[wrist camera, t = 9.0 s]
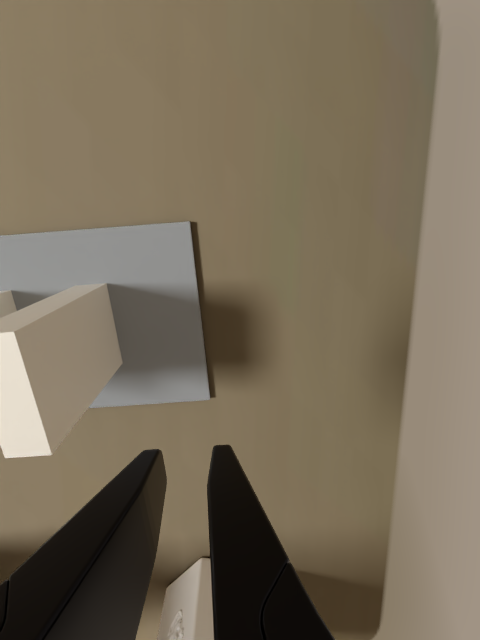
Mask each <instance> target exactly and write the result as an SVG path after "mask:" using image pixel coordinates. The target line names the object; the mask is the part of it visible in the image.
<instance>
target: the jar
mask: <svg viewBox="0 0 480 640" xmlns="http://www.w3.org/2000/svg"><path fill="white" fill-rule="evenodd" d="M157 640H214V631H213V608H212V586H211V564H210V558H200V559H199V560H198V561H197V562H195V563H194V564H193V565H192V566H191V567H190V568H189V569H187V570H186V571H185V572H184V573H183V574H182V575H181V576H179V577H178V578H177V579H176V580H175V581H174V582H173V583H171V584H170V585H169V586H168V587H167V589H166V593H165V598H164V604H163V609H162V614H161V619H160V625H159V630H158V635H157Z"/></svg>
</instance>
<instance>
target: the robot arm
mask: <svg viewBox="0 0 480 640" xmlns="http://www.w3.org/2000/svg"><path fill="white" fill-rule="evenodd" d="M166 484H167V478H166V471H165V466H164V460H163V455H162V452H161V450H159V449H153V450H144V451H143V452H141V453H140V454H139V455H138V456H137V457H136V458H135V459H134V460H133V461H132V462H131V463H130V464H128V465H127V466H126V467H125V468H124V469H123V470H122V471H121V472H120V473H119V474H118V475H117V476H116V477H115V478H114V479H112V480H111V481H110V482H109V483H108V484H107V485H106V486H105V487H104V488H103V489H102V490H101V491H100V492H99V493H98V494H96V495H95V496H94V497H93V498H92V499H91V500H90V501H89V502H88V503H87V504H86V505H85V506H84V507H83V508H82V509H80V510H79V511H78V512H77V513H76V514H75V515H74V516H73V517H72V518H71V519H70V520H69V521H68V522H67V523H66V524H64V525H63V526H62V527H61V528H60V529H59V530H58V531H57V532H56V533H55V534H54V535H53V536H52V537H51V538H50V539H48V540H47V541H46V542H45V543H44V544H43V545H42V546H41V547H40V548H39V549H38V550H37V551H36V552H35V553H34V554H32V555H31V556H30V557H29V558H28V559H27V560H26V561H25V562H24V563H23V564H22V565H21V566H20V567H19V568H18V569H16V570H15V571H14V572H13V573H12V574H11V575H10V577H9V580H5V581H3V582H2V583H1V584H0V640H135V638H136V634H137V630H138V626H139V622H140V618H141V614H142V610H143V606H144V602H145V598H146V594H147V590H148V586H149V582H150V578H151V574H152V570H153V566H154V562H155V557H156V552H157V546H158V540H159V533H160V526H161V519H162V513H163V506H164V499H165V492H166ZM207 498H208V520H209V542H210V564H211V586H212V608H213V631H214V640H335V639H334V637H333V636H332V634H331V633H330V631H329V629H328V628H327V626H326V625H325V623H324V621H323V620H322V618H321V617H320V615H319V613H318V612H317V610H316V608H315V606H314V604H313V603H312V601H311V599H310V597H309V595H308V594H307V592H306V590H305V588H304V586H303V585H302V583H301V581H300V579H299V577H298V575H297V573H296V571H295V569H294V567H293V565H292V564H291V563H289V558H288V556H287V554H286V552H285V550H284V548H283V546H282V545H281V543H280V541H279V539H278V537H277V535H276V533H275V531H274V529H273V527H272V525H271V523H270V521H269V519H268V517H267V515H266V513H265V511H264V510H263V508H262V506H261V504H260V502H259V500H258V498H257V496H256V494H255V492H254V490H253V488H252V486H251V484H250V482H249V480H248V478H247V476H246V475H245V473H244V471H243V469H242V467H241V465H240V463H239V461H238V459H237V457H236V455H235V453H234V451H233V449H232V447H231V446H230V445H216V446H214V447H213V451H212V457H211V463H210V470H209V476H208V484H207Z"/></svg>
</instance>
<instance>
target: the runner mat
mask: <svg viewBox="0 0 480 640" xmlns="http://www.w3.org/2000/svg"><path fill="white" fill-rule="evenodd" d="M104 283H106V284H107V289H108V293H109V298H110V303H111V308H112V313H113V318H114V323H115V328H116V333H117V338H118V343H119V348H120V353H121V357H122V362H123V363H122V365H121V366H120V367H119V368H118V370H117V371H116V372H115V374H114V375H113V376H112V378H111V379H110V380H109V381H108V383H107V384H106V385H105V387H104V388H103V389H102V391H101V392H100V393H99V394H98V396H97V397H96V398H95V400H94V401H93V402H92V404H91V405H90V406H89V407H88V408H98V407H112V406H127V405H142V404H156V403H171V402H186V401H200V400H210V390H209V382H208V373H207V364H206V355H205V347H204V338H203V329H202V320H201V312H200V303H199V294H198V285H197V277H196V268H195V259H194V250H193V242H192V233H191V224H190V221H189V222H176V223H163V224H149V225H136V226H123V227H109V228H96V229H83V230H69V231H56V232H43V233H29V234H16V235H3V236H0V291H7V290H11V293H12V296H13V299H14V303H15V306H16V310H17V311H18V310H20V309H23V308H25V307H27V306H29V305H32V304H34V303H36V302H39V301H41V300H43V299H45V298H48V297H50V296H52V295H55V294H57V293H59V292H61V291H64V290H66V289H68V288H71V287H73V286H76V285H90V284H104Z"/></svg>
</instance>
